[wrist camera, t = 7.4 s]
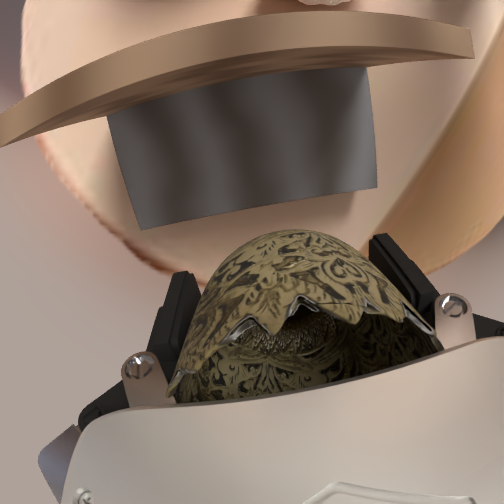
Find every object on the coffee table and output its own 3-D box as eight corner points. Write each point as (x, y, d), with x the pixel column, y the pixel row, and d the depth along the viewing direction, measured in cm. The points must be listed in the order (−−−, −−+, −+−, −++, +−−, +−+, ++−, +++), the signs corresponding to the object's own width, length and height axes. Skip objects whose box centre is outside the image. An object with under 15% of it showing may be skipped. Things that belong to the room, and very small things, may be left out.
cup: (213, 163, 11) (168, 292, 4) (383, 204, 12) (498, 329, 5) (189, 312, 15) (165, 463, 8) (326, 330, 16) (364, 465, 9)
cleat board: (345, 56, 23) (469, 29, 8) (359, 174, 29) (466, 265, 14) (121, 98, 24) (-7, 119, 9) (152, 212, 30) (82, 332, 15)
